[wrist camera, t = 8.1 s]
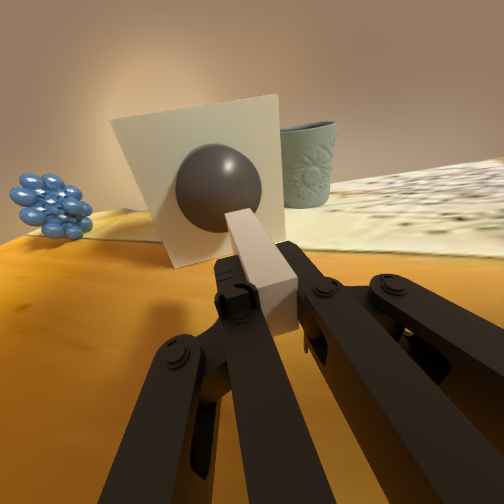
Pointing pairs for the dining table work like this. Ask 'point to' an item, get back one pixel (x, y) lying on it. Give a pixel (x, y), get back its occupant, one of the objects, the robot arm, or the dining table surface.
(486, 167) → the dining table surface
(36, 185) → the grapes
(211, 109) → the cream rectangular block
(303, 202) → the grey-green cup
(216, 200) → the knob
